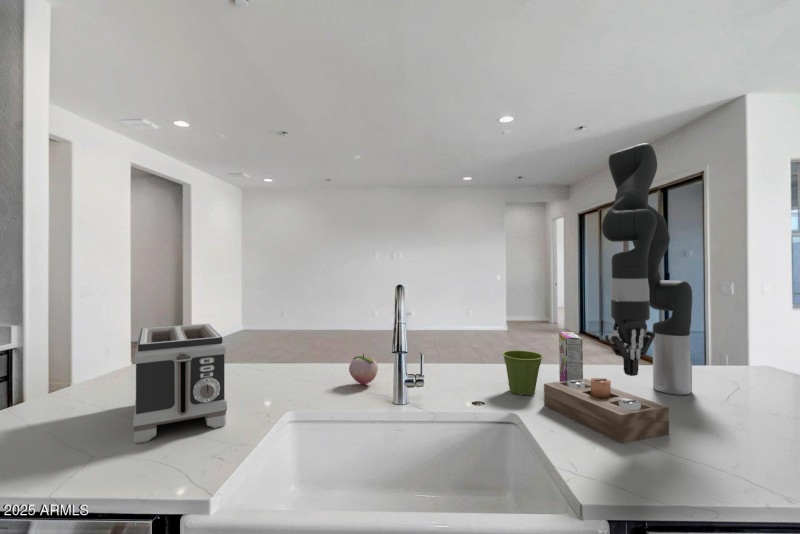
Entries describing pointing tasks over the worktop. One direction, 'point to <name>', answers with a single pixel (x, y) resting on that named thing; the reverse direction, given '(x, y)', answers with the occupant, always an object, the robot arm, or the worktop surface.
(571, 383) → the metal knob
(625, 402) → the metal knob
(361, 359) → the decorative fruit
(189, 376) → the toaster
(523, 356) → the plant pot
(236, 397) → the worktop surface
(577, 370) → the candy bar box
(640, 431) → the console
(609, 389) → the terracotta knob
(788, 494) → the worktop surface
